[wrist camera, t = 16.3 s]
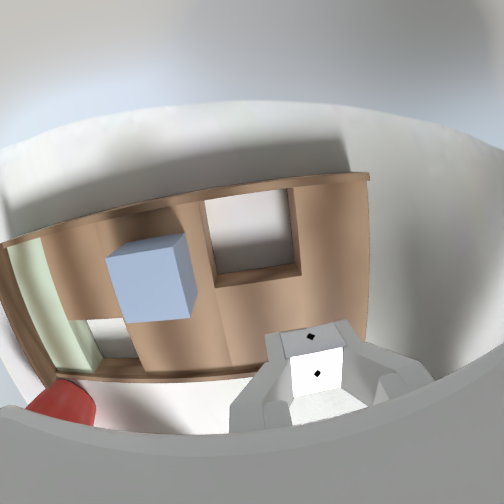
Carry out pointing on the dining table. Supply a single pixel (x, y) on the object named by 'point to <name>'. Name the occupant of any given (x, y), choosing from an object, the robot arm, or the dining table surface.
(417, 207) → the dining table surface
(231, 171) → the dining table surface
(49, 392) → the flower pot
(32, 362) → the box
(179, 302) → the cube
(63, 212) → the dining table surface
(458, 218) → the dining table surface
